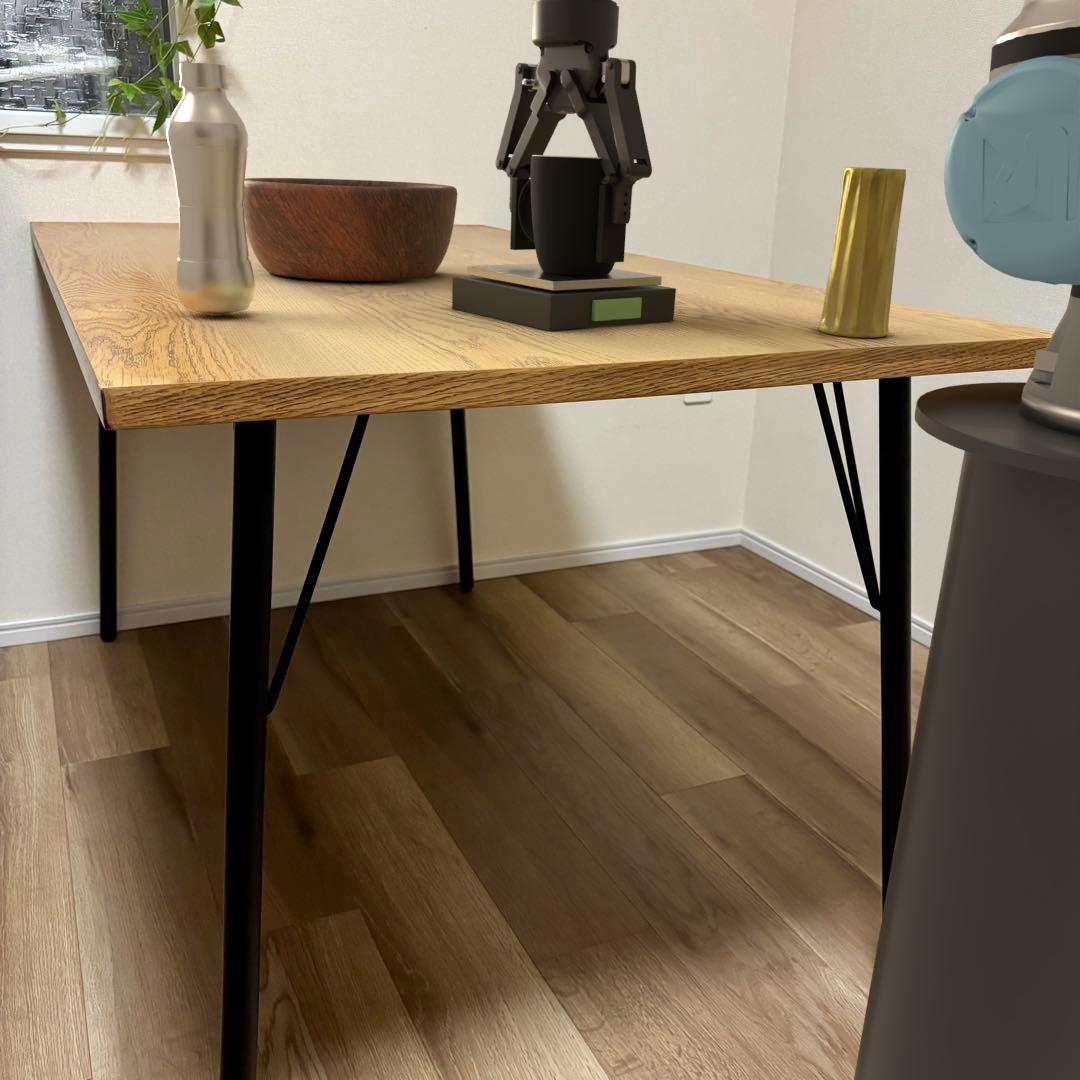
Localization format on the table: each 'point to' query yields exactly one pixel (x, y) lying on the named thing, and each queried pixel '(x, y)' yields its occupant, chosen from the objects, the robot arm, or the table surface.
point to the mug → (564, 213)
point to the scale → (563, 304)
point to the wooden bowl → (348, 227)
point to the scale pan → (561, 277)
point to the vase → (864, 253)
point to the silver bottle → (210, 194)
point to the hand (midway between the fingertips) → (564, 255)
